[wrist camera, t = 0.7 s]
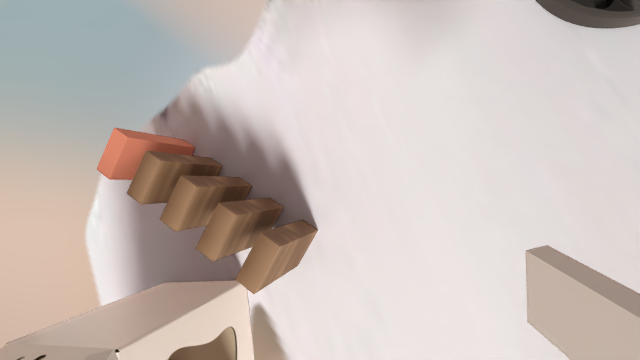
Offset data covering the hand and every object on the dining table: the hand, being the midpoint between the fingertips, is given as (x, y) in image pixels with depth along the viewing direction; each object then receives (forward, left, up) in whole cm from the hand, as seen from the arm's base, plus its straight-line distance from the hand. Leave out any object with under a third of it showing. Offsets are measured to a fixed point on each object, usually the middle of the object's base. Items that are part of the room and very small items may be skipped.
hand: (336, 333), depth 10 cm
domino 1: (+23, -19, -25) cm, 39 cm away
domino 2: (+20, -15, -25) cm, 35 cm away
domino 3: (+17, -10, -25) cm, 32 cm away
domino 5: (+11, -2, -25) cm, 27 cm away
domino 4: (+14, -6, -25) cm, 29 cm away
